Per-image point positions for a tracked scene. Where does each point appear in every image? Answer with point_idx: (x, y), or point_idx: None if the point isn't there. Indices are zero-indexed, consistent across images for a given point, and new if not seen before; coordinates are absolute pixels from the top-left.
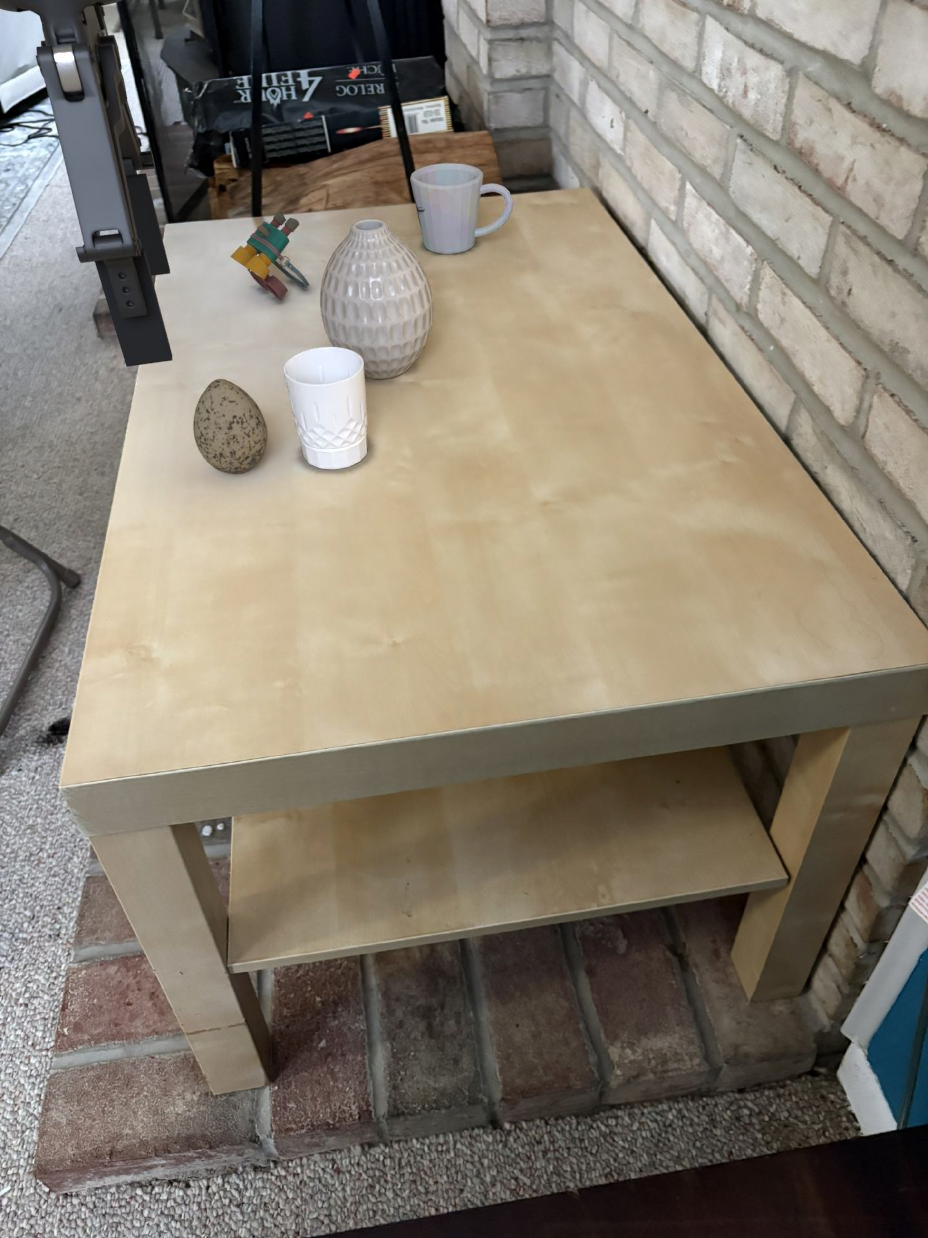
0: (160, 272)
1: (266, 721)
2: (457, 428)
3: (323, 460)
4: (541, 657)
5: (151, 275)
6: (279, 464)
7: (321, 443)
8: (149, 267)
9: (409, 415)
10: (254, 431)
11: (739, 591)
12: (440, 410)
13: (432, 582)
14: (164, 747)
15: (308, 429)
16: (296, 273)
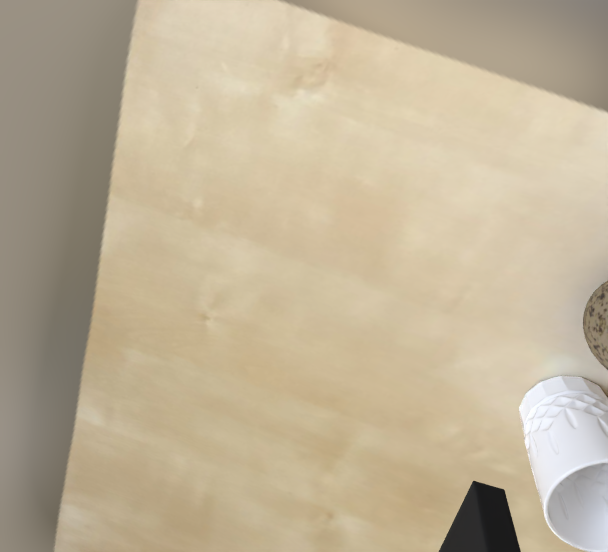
0: (445, 544)
1: (154, 174)
2: None
3: (538, 392)
4: (141, 405)
5: (454, 521)
6: None
7: (542, 409)
8: (456, 541)
9: None
10: (599, 357)
11: (153, 549)
12: None
13: (272, 383)
14: (157, 67)
15: (560, 413)
16: None
